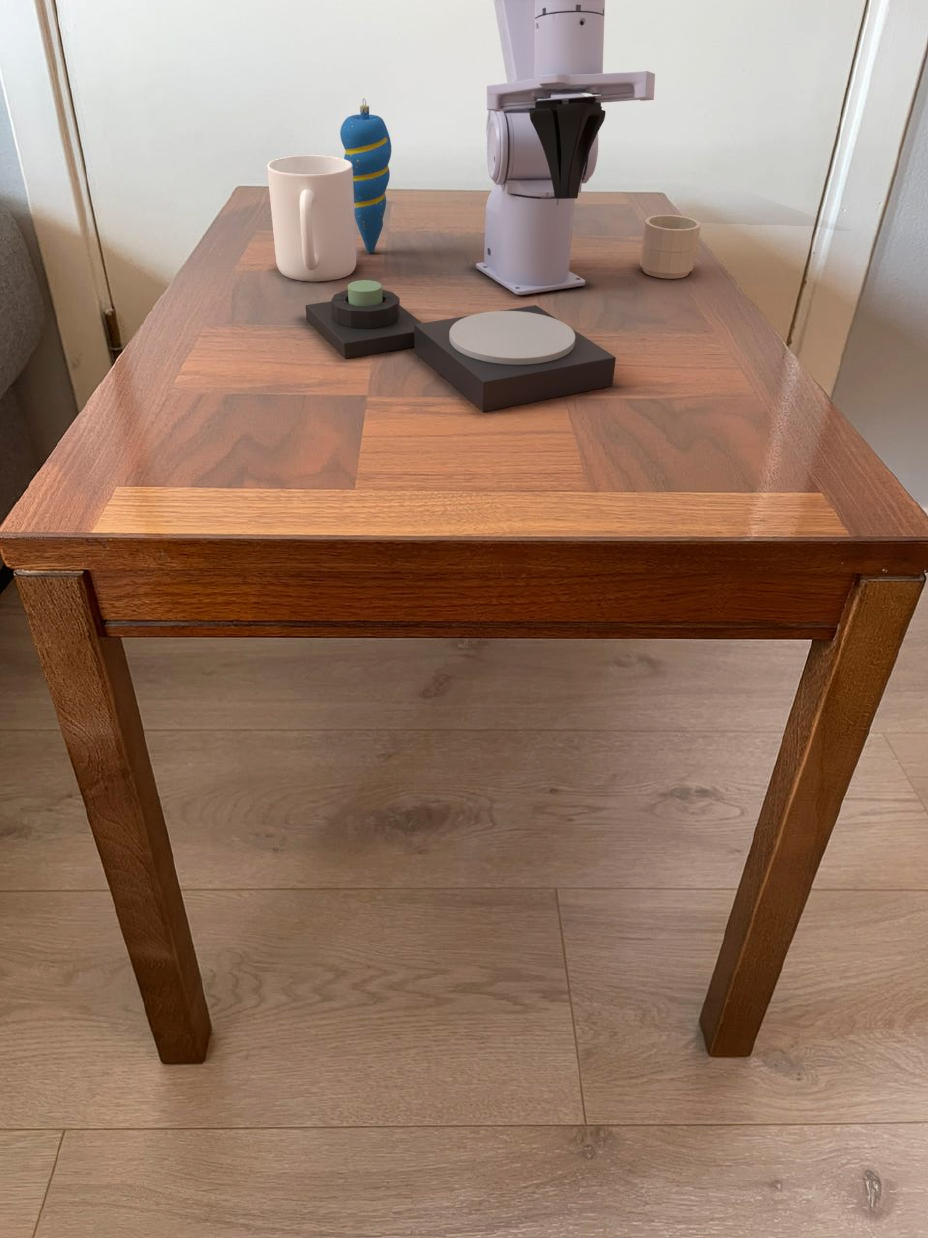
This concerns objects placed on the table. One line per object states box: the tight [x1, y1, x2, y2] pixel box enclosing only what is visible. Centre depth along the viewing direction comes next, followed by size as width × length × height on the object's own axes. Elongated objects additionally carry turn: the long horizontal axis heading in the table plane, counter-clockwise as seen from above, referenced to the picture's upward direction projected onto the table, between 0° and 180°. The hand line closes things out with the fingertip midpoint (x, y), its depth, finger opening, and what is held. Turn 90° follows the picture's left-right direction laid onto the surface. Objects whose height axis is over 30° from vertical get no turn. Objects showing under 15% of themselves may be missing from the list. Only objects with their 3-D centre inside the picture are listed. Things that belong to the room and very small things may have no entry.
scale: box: [413, 304, 617, 413], centre depth 81 cm, size 13×12×3 cm
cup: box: [266, 154, 357, 282], centre depth 97 cm, size 8×12×10 cm
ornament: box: [339, 98, 392, 254], centre depth 102 cm, size 5×5×15 cm
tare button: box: [347, 279, 383, 306], centre depth 86 cm, size 3×3×2 cm
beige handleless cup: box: [639, 214, 702, 280], centre depth 102 cm, size 6×6×5 cm
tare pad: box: [305, 289, 422, 359], centre depth 87 cm, size 10×8×3 cm
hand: (566, 198), depth 85 cm, fingers closed
